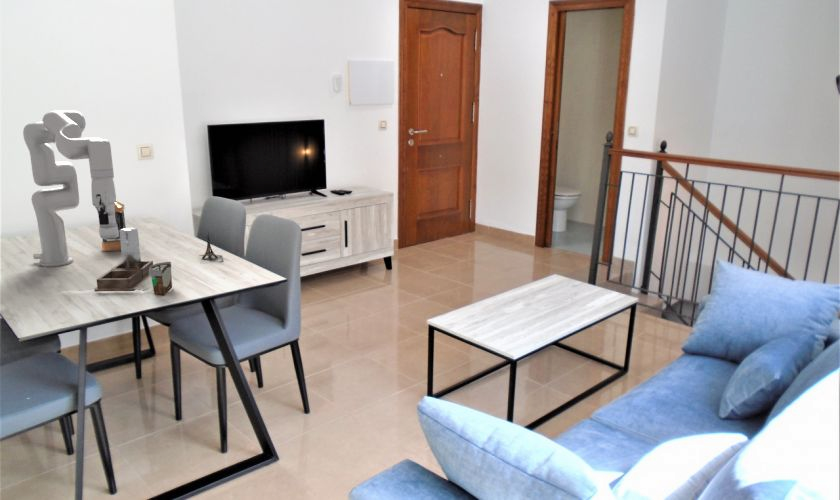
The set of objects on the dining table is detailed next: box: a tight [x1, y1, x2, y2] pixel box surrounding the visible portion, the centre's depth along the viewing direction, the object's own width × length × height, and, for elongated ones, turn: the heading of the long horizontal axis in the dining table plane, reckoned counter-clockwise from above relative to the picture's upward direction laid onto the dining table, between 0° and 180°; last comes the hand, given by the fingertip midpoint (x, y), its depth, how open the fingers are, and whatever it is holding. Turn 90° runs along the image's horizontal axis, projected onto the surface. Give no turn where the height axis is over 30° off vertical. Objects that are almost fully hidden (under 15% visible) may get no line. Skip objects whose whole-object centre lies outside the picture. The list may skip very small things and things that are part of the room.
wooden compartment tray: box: [93, 260, 154, 292], centre depth 248 cm, size 14×26×4 cm, turn 4°
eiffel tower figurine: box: [198, 232, 224, 263], centre depth 279 cm, size 15×10×13 cm
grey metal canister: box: [119, 227, 142, 269], centre depth 252 cm, size 7×7×18 cm
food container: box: [149, 261, 173, 297], centre depth 235 cm, size 12×6×10 cm, turn 5°
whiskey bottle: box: [101, 200, 127, 252], centre depth 292 cm, size 10×10×32 cm
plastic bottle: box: [98, 196, 119, 240], centre depth 235 cm, size 6×7×20 cm
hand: (107, 222), depth 236 cm, fingers closed on plastic bottle, 5 cm apart
